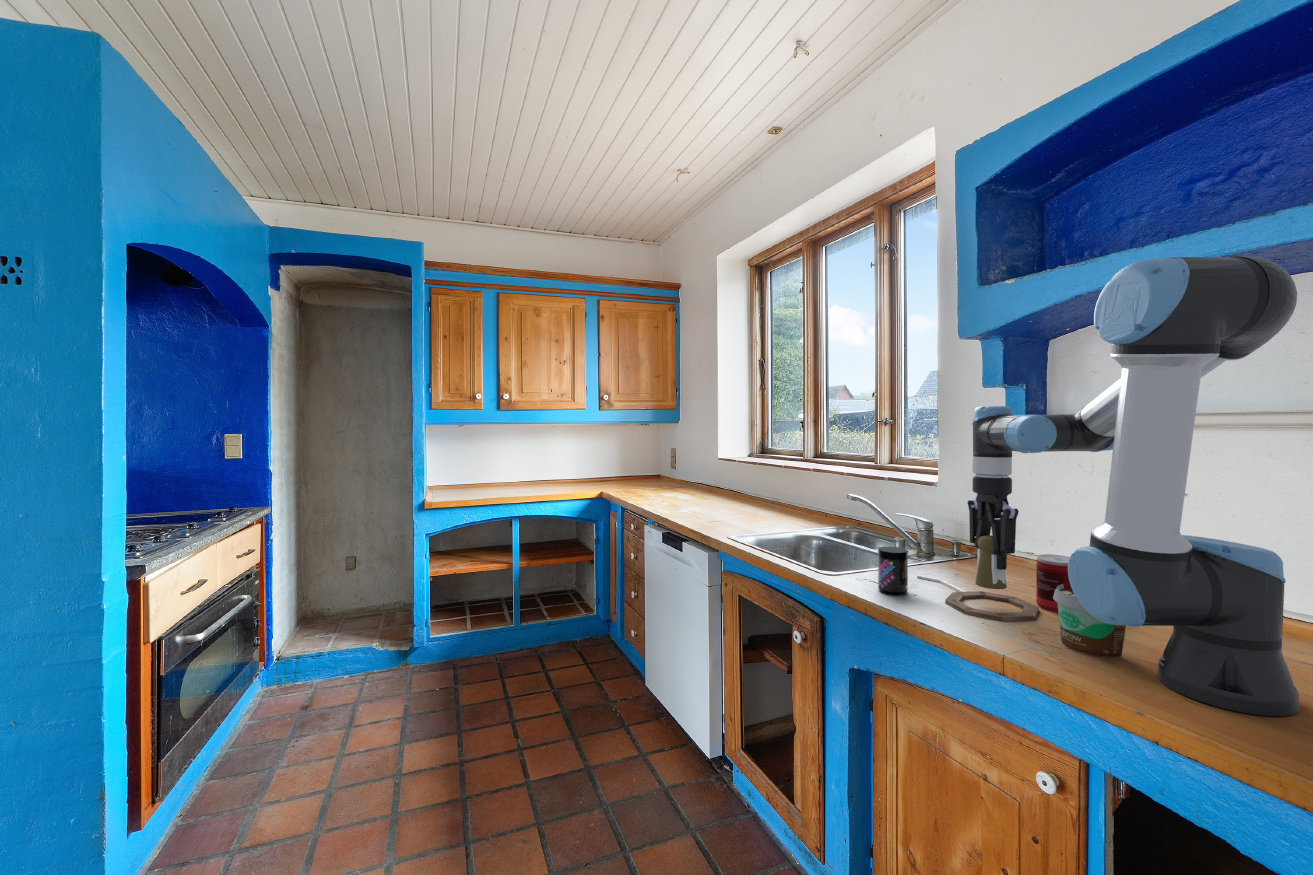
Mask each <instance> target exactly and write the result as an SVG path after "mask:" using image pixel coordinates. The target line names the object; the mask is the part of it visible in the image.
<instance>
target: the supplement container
mask: <svg viewBox="0 0 1313 875" xmlns="http://www.w3.org/2000/svg"><path fill="white" fill-rule="evenodd" d="M877 558H878V559H877V561H878V562H877V563H878V564H877V565H878V567H877V573H878V574H877V576H878V577H877V583H878V584H877V588H878V590H879V592H880V593H882V594H885V595H889V596H904V595H906V594H907V593H908V590H909V588H908V583H909V582H908V581H909V578H908V577H909V576H908V575H909V571H908V570H909V569H908V567H909V563H908V562H909V561H908V560H909V550H908V549H906V548H904V547H898V546H890V545H889V546H887V545H885V546H879V547H878V548H877Z"/></svg>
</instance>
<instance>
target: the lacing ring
mask: <svg viewBox="0 0 1313 875" xmlns="http://www.w3.org/2000/svg"><path fill="white" fill-rule="evenodd" d="M964 599H967V600H968V599H969V600H970V599H986V600H987V599H989V600H993V601H1001V602H1005V603H1009V604H1011V605H1014V606H1016V607H1018V608H1020V609H1022V610H1021V611H1016V612H1014V611H1013V612H1012V611H1011V612H996V611H995V612H994V611H991V610H984V609H979V608H974V607H972V606H970V605H968V604H966V603H964V602H962V601H963V600H964ZM945 605H948V606H950V607H952V608H954V609H956V610H957V611H959V612H961V613H962V614H964V615H967V616H968V615H969V616H974V617H980V618H983V619H989V620H996V621H1000V622H1014V621H1015V622H1016V621H1034V620H1035V619H1036V618H1037V616H1038V614H1039V612H1040V607H1039V606H1038V605H1035V604H1032V603H1031V602H1028V601H1026V600H1024V599H1022V598H1019V597H1016V596H1012V595H1007V594H1002V593H1001V594H1000V593H995V592H994V593H993V592H988V591H981V590H975V591H972V590H971V591H966V592H958V591H953V592H951V594H950V595H948V597H946V599H945ZM1035 621H1036V620H1035Z"/></svg>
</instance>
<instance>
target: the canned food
mask: <svg viewBox="0 0 1313 875" xmlns="http://www.w3.org/2000/svg"><path fill="white" fill-rule="evenodd" d="M1069 558H1070V556H1067V555H1062V554H1049V553H1048V554H1045V553H1044V554H1039V555H1037V556H1036V566H1035V567H1036V568H1035V570H1036V573H1035V574H1036V583H1035V584H1036V587H1035V588H1036V589H1035V590H1036V591H1035V600H1036V606H1038V607H1039V608H1040V609H1044V610H1046V611H1050V612H1054V613H1059V611H1058V602H1056V601H1055V600H1054V599H1053V596H1054V592H1055V590H1056V589H1057V586H1059V585H1062V584H1063V585H1064V589H1065V590H1068V591H1072V592H1073V590H1072V587H1071V584H1070V581H1069V576H1068V562H1069Z"/></svg>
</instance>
